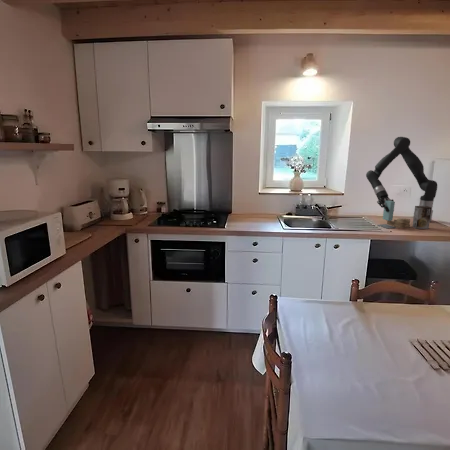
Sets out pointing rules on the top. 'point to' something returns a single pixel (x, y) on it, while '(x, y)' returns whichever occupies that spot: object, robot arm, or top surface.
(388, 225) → the slate mat
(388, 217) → the pale teal pillar
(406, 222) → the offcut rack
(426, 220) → the coffee box
